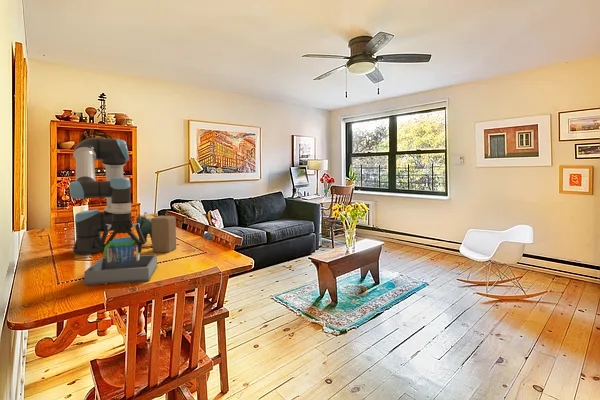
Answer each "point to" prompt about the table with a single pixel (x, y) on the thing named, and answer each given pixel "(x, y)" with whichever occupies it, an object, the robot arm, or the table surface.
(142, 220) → the green animal figurine
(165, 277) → the table surface
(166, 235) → the wooden block
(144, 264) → the grey tray
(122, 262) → the snack cup
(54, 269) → the table surface
